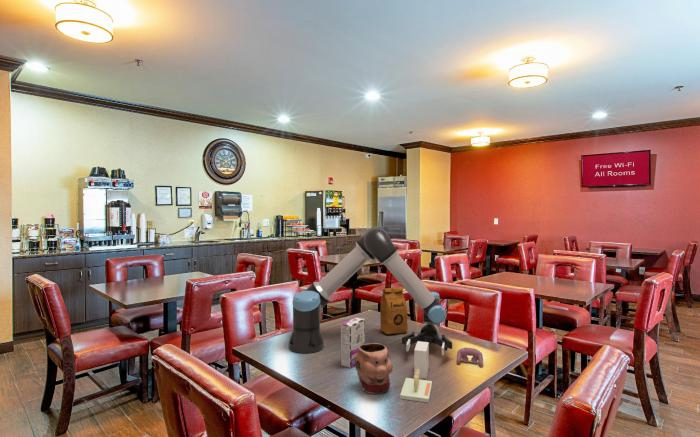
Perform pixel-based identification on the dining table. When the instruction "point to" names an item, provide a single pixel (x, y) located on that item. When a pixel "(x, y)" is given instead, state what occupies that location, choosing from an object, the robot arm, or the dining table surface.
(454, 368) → the dining table surface
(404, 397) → the board
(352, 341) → the candy bar box
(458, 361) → the video game controller
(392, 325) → the coffee package
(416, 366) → the block
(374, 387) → the decorative planter
